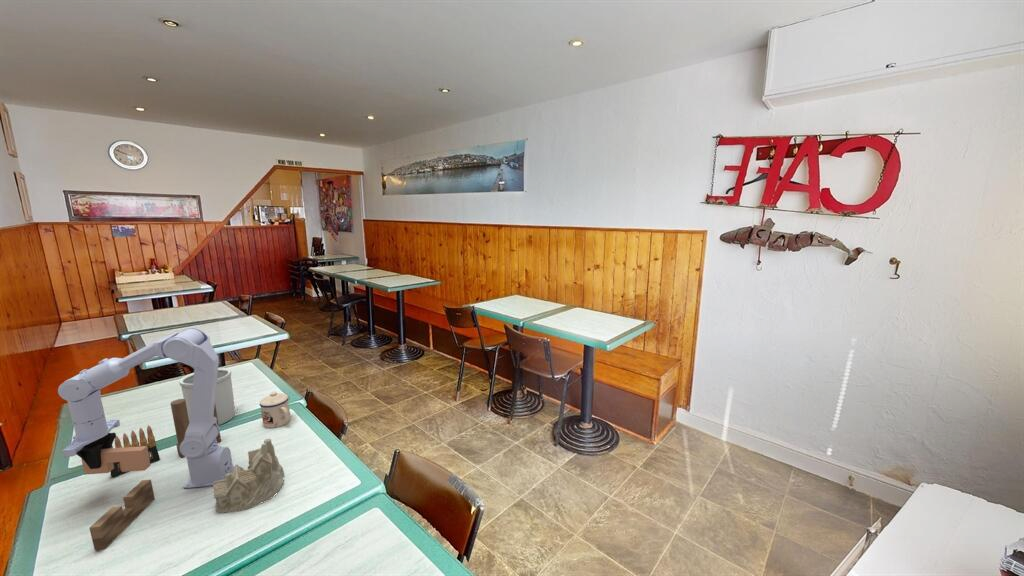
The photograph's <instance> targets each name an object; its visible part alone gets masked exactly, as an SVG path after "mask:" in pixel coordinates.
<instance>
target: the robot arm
mask: <svg viewBox="0 0 1024 576" xmlns="http://www.w3.org/2000/svg"><path fill="white" fill-rule="evenodd" d="M155 357H159V358H161V359H166V358H168V359H170V360H173V361H176V362H179V363H181V364H184V365H187V366H189V367H191V368H192V369H193V373H194V379H193V391H192V402H191V414H190V423H189V425H188V428H187V430H186V433H185V438H184V440H183V441H182V443H181V444H180V448H179V449H180V452H181V454H182V455H183V456H184V458H186V462H187V466H188V472H189V478H190V479H189V480H188V481H187V482H186V483H185V484H184V485H183V489H191V488H199V487H200V488H202V487H208V486H213V485H214V482H215V481H219V480H223V479H226V477H225V475H226V474H229V473H232V470H233V469H234V467H235V465H233V464H234V463H233V459H232V452H231V449H230V447H228V446H221V445H219V443H217V441H216V437H217V436H218V434H219V431H221V430H220V426H219V427H218V425H217V418H216V417H213V416H214V406H215V395H216V384H217V374H218V368H219V363H220V362H219V361H220V360H219V356H218V354H217V352H216V350H215V349H214V347H213V345H212V343H211V338H210V335H209V334H207V333H206V332H205V331H204V330H201V329H200V328H197V327H188V328H185V329H183V330H181V332H180V331H177V332H174V333H172V334H169V335H167V336H165V337H162V338H159V339H157V340H155V341H154V342H151V343H150V344H148V345H146V346H143V347H142V348H140V349H138V350H136V351H134V352H132V353H131V354H128V355H127V356H124V357H123V358H121V357H111V358H106V357H105V358H104V359H102V360H100V361H98V364H97V365H95V366H92V367H91V368H89V369H87V368H85V369H82V370H81V371H79V374H76V375H75V376H73V377H71V378H69V379H66V380H64V382H62V383H61V384H60V385H59V386H58V389H57V393H58V395H59V397H60V398H62V400H65V401H67V405H68V409H69V412H70V417H71V421H72V424H73V425H72V426H73V428H74V432H75V433H74V435H73V436H72V441H71V442H70V443H69V445H68V446H66V447H65V448H64V449H62V453H63V457H64V458H72V457H75V456H78V457H79V458H80V459H81V458H82V459H83V460H84V461H85V462H86V464H87V465H88V466H89V468H90V469H97V468H100V467H101V449H108V448H111V447H112V446H113V443H114V442H115V437H116V436H117V433H116V432H112V430H113V429H115V428H119V427H120V426H121V422H120V419H119V418H117V419H116V418H115V419H110V420H108V421H107V419H106V414H105V410H104V406H103V401H102V398H101V397H102V396H101V394H102V393H101V389H103V388H105V387H108V386H109V385H112V384H113V383H115V382H118V381H119V380H121V379H123V378H125V377H127V376H128V375H129V373H130V370H131V369H133V368H134V367H136V366H138V365H140V364H143V363H145V362H146V361H149V360H151V359H153V358H155ZM82 459H81V460H82Z"/></svg>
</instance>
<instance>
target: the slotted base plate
mask: <svg viewBox="0 0 1024 576" xmlns="http://www.w3.org/2000/svg"><path fill="white" fill-rule="evenodd" d="M152 484H153V483H152V479H142V480H141V481H139V483H137V484H136V485H135V486H134V487H133V488H131V490H129V491H128V492H127V494H125V495H124V496H123V497H122V499H123V503H124V509H123V505H117V506H112V507H110V508H109V509H108V510H107V511H106V512H105V513H104V514H103V515H102V516H100V517H99V518H98V519H97V520H96V521H95V522H94V523H93V524H91V526H89V533H90V536H91V541H92V544H93V549H94V551H101V550H106V549H107V548H108V547H109V546H110V545H111V544H112V543H113V542H114V540H116V539H117V537H118V536H120V535H121V534H122V532H124V530H125V529H126V528H128V527H129V526H130V525H131V524H132V523H133V522H134V521H135V520H136V519H137V518H138V517H139V516H140V515H141V514H142V513H143V512H144V511H145V510H146V508H148V506H150V505H151V503H152V502H154V501H155V499H156V498H155V494H154V488H153V485H152Z"/></svg>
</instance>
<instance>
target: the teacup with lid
mask: <svg viewBox="0 0 1024 576" xmlns="http://www.w3.org/2000/svg"><path fill="white" fill-rule="evenodd" d="M289 400H290V398H289V396H288V394H286V393H279V392H276V391H272V392H270V393H269V395H267V396H265V397H263V398H262V399H261V400H259V406H260V410H261V411H260V412H261V419H262V425H263V427H264V428H268V429H274V428H278V427H279V428H280V427H282V426H285V425H286V424H288V423H289V422H290V420H291V411H290V404H289Z"/></svg>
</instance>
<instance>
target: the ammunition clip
mask: <svg viewBox="0 0 1024 576" xmlns="http://www.w3.org/2000/svg"><path fill="white" fill-rule="evenodd" d="M130 433H131V434H130V438H131V443H130V440H129V439H130V438H129V436H128V435H127V433H126V432H124V433H123V435H122V441H121V440H120V438H119V436H117V435H116V437H115V439H114V445H115V448H123V447H122V445H121V442H123V444H124V447H131V444H132V447H140V446H147V448H148V454H149V460H150V465H151V464H154V463H156V462H159V461H160V460H161V458H160V457H161V456H160V454H159V450H158V448H157V443H156V438H155V436H154V433H153V428H152V427H151V425H148V424H147V428H146V433H145V431H144V429H143V428H142V427H140V428H139V431H138V436H139V440H138V437H137V434H136V432H135V430H133V429H132V430H131V432H130ZM145 434H146V435H147V438H146V435H145ZM114 445H112V447H111V448H113V446H114ZM113 464H114V469H113V470H111V471H110V472H109V473H110V477H111V478H112V479H115V478H117V477H120V476H122V475H125V474H127V473H131V471H129V472H122V469H121V464H120V462H113ZM118 466H119V467H118Z"/></svg>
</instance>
